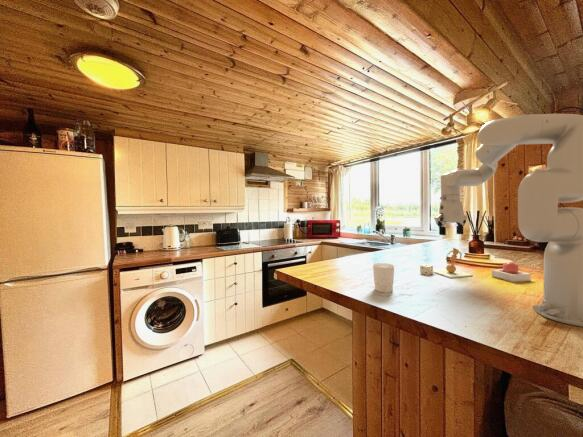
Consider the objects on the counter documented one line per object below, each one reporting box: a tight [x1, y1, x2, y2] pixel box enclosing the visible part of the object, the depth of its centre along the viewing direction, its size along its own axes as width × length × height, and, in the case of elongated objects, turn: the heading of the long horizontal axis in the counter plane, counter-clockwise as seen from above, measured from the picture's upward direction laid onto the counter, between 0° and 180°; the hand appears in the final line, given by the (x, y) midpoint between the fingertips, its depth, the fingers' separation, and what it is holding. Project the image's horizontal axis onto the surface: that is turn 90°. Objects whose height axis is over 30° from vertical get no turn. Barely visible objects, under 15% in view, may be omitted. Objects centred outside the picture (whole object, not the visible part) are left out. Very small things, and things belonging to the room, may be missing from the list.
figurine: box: [445, 247, 462, 273], centre depth 114 cm, size 8×6×12 cm
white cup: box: [372, 262, 395, 294], centre depth 94 cm, size 8×8×10 cm
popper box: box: [491, 268, 532, 283], centre depth 104 cm, size 9×9×3 cm
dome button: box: [502, 261, 519, 274], centre depth 104 cm, size 5×5×5 cm
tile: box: [433, 268, 474, 279], centre depth 114 cm, size 12×12×1 cm
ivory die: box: [419, 264, 434, 276], centre depth 116 cm, size 4×4×4 cm
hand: (451, 234), depth 113 cm, fingers open, 9 cm apart
